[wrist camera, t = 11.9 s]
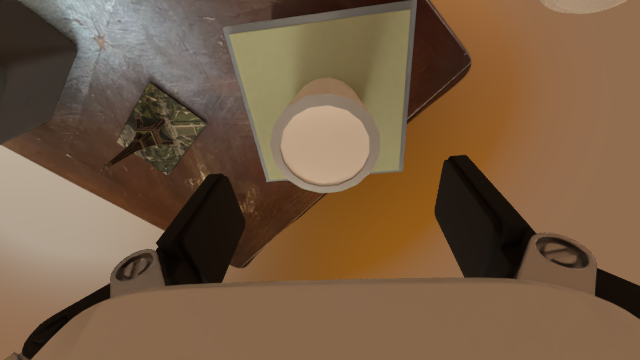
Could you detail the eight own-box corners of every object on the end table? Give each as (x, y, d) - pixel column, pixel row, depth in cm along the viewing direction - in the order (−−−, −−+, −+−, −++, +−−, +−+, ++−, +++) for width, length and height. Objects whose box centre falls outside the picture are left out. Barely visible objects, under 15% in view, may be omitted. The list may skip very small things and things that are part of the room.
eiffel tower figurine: (169, 175, 48) (122, 224, 37) (116, 142, 44) (45, 185, 33) (207, 123, 42) (163, 163, 31) (149, 79, 38) (75, 106, 27)
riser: (376, 5, 32) (417, -1, 17) (375, 111, 40) (402, 171, 25) (270, 19, 33) (221, 26, 18) (290, 119, 41) (266, 181, 26)
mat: (409, 9, 17) (411, 9, 17) (397, 167, 24) (399, 170, 24) (230, 33, 18) (228, 34, 18) (270, 177, 26) (269, 180, 25)
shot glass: (286, 145, 23) (271, 190, 17) (285, 65, 19) (265, 89, 13) (360, 150, 23) (370, 197, 17) (374, 72, 19) (392, 98, 13)
